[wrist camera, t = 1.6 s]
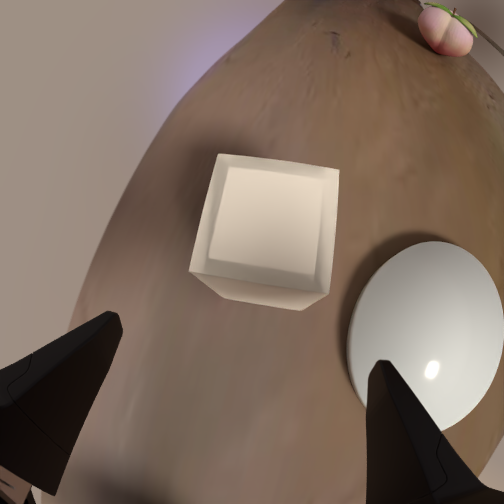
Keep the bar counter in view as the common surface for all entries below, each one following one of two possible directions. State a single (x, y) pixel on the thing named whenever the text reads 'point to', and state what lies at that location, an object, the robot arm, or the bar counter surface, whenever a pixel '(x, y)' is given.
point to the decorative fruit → (446, 30)
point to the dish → (430, 328)
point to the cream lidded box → (267, 231)
